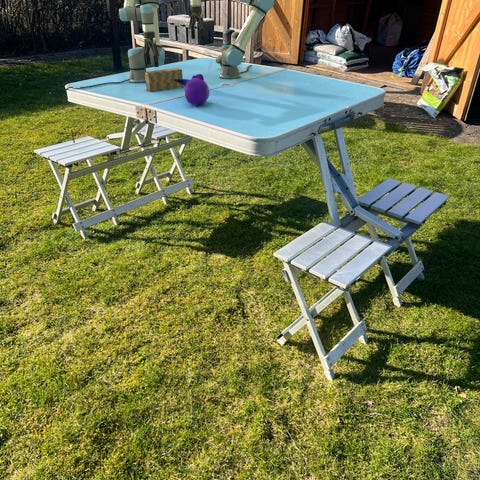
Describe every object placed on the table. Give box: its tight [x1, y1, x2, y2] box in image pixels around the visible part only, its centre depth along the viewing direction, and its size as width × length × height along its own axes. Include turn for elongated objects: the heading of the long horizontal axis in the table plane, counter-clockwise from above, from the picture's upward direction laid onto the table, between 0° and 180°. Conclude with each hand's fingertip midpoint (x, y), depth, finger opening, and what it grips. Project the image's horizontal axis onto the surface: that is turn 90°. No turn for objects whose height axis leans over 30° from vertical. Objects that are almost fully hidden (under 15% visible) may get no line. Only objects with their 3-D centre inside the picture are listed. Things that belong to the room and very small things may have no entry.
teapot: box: [215, 55, 222, 68], centre depth 374 cm, size 21×12×15 cm, turn 120°
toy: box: [174, 73, 210, 107], centre depth 272 cm, size 16×18×27 cm
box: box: [145, 67, 184, 93], centre depth 312 cm, size 25×7×12 cm, turn 122°
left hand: (152, 65), depth 304 cm, fingers open, 13 cm apart
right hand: (197, 39), depth 316 cm, fingers open, 13 cm apart
